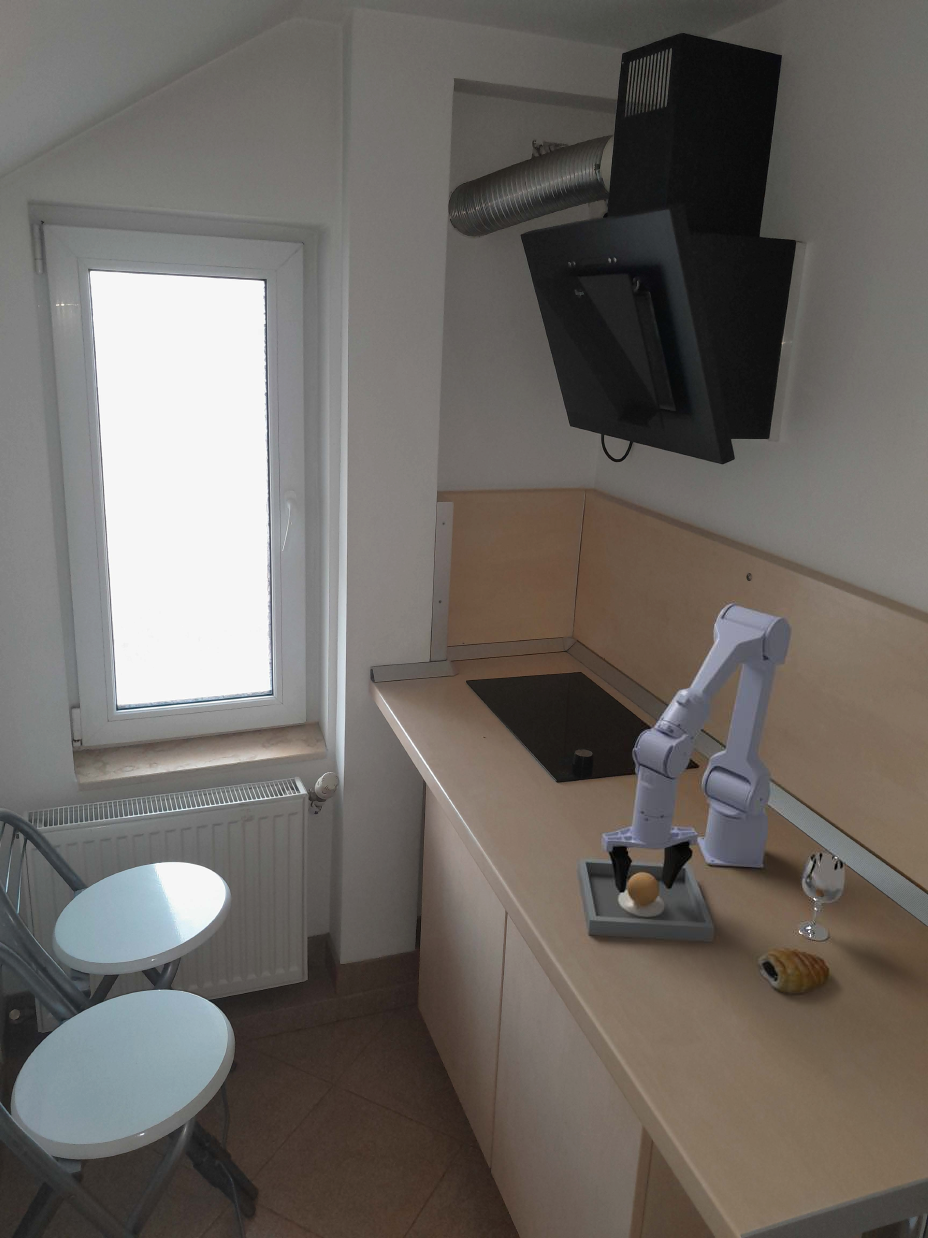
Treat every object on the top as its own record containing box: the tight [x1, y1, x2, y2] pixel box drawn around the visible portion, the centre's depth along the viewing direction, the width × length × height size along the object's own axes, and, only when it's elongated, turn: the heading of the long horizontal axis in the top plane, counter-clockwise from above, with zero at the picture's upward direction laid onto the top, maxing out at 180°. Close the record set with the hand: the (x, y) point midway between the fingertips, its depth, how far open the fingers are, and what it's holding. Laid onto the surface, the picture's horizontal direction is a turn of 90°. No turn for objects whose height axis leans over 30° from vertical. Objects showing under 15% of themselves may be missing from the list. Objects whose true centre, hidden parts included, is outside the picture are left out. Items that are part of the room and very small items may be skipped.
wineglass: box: [796, 852, 846, 942], centre depth 133 cm, size 6×6×12 cm
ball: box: [627, 872, 659, 905], centre depth 138 cm, size 5×5×5 cm
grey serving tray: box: [576, 857, 716, 943], centre depth 138 cm, size 18×16×2 cm
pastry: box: [757, 947, 830, 995], centre depth 124 cm, size 9×7×4 cm
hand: (643, 887), depth 137 cm, fingers open, 7 cm apart
